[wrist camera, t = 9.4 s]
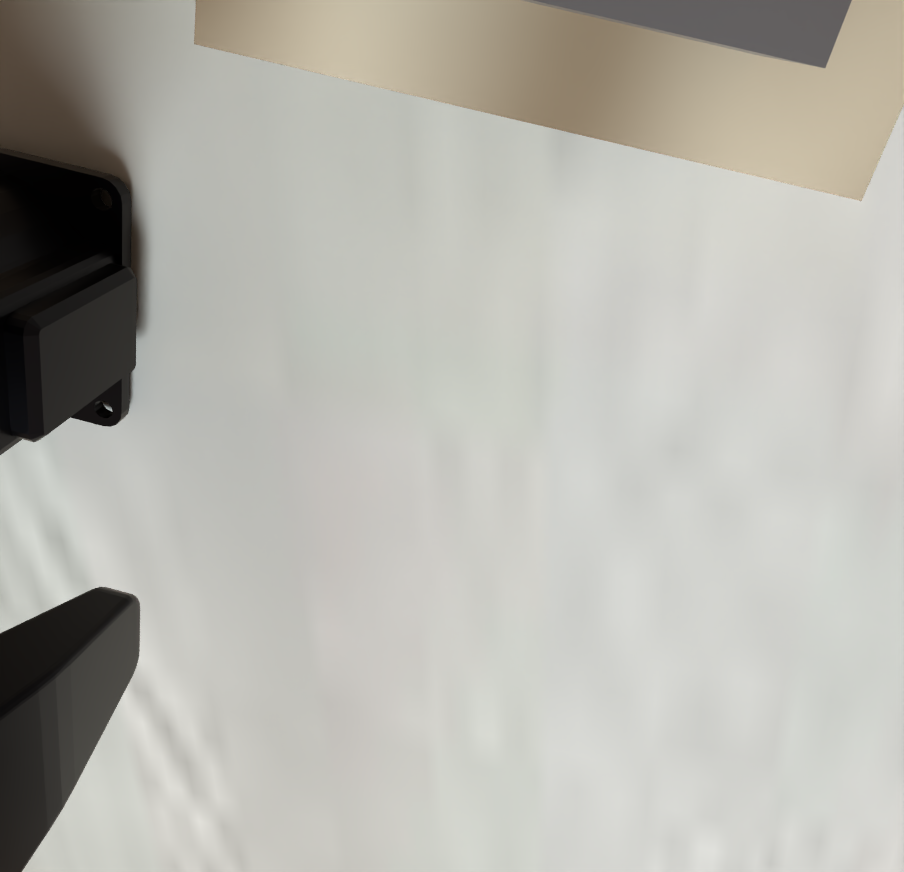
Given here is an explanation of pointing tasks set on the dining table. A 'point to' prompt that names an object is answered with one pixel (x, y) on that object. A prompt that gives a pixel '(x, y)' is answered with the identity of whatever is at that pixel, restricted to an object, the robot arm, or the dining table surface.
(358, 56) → the keyhole board
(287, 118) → the dining table surface
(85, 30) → the dining table surface
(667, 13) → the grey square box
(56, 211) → the robot arm
